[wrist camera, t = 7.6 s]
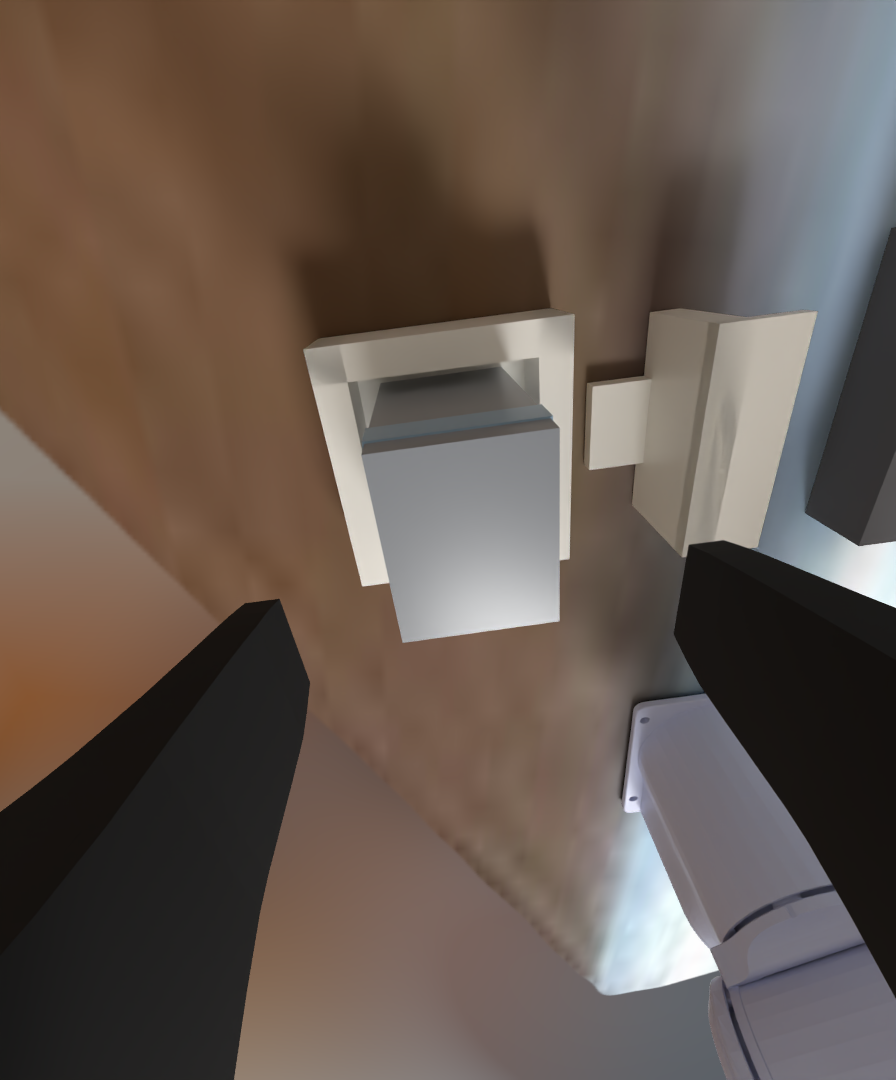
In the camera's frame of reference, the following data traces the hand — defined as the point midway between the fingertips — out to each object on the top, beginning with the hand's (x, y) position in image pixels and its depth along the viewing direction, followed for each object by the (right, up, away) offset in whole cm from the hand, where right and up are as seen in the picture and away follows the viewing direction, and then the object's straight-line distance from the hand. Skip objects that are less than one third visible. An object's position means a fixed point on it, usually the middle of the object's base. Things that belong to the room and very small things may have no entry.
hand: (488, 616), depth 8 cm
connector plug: (0, +3, +9) cm, 10 cm away
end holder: (-1, +5, +8) cm, 10 cm away
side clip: (+7, +6, +9) cm, 12 cm away
